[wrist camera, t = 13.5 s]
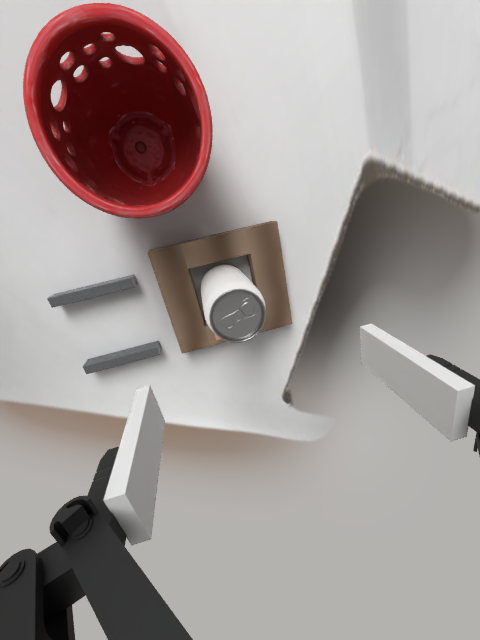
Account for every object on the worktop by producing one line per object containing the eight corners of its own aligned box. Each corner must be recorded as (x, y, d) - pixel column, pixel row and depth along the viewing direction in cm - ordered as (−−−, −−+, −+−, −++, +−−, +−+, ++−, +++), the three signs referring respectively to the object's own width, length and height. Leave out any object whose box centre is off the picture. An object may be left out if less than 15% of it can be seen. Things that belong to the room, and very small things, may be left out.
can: (255, 291, 38) (281, 322, 27) (218, 317, 39) (230, 358, 28) (229, 253, 36) (247, 270, 25) (190, 282, 36) (190, 311, 25)
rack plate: (182, 345, 39) (182, 354, 37) (150, 249, 34) (147, 252, 31) (286, 317, 41) (293, 324, 38) (271, 221, 35) (277, 221, 33)
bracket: (91, 366, 38) (86, 374, 36) (54, 293, 34) (47, 298, 32) (161, 348, 39) (159, 354, 37) (133, 274, 35) (130, 278, 33)
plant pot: (57, 151, 29) (-24, 112, 18) (136, 48, 27) (100, -66, 16) (155, 240, 34) (138, 252, 23) (228, 158, 32) (248, 128, 21)
